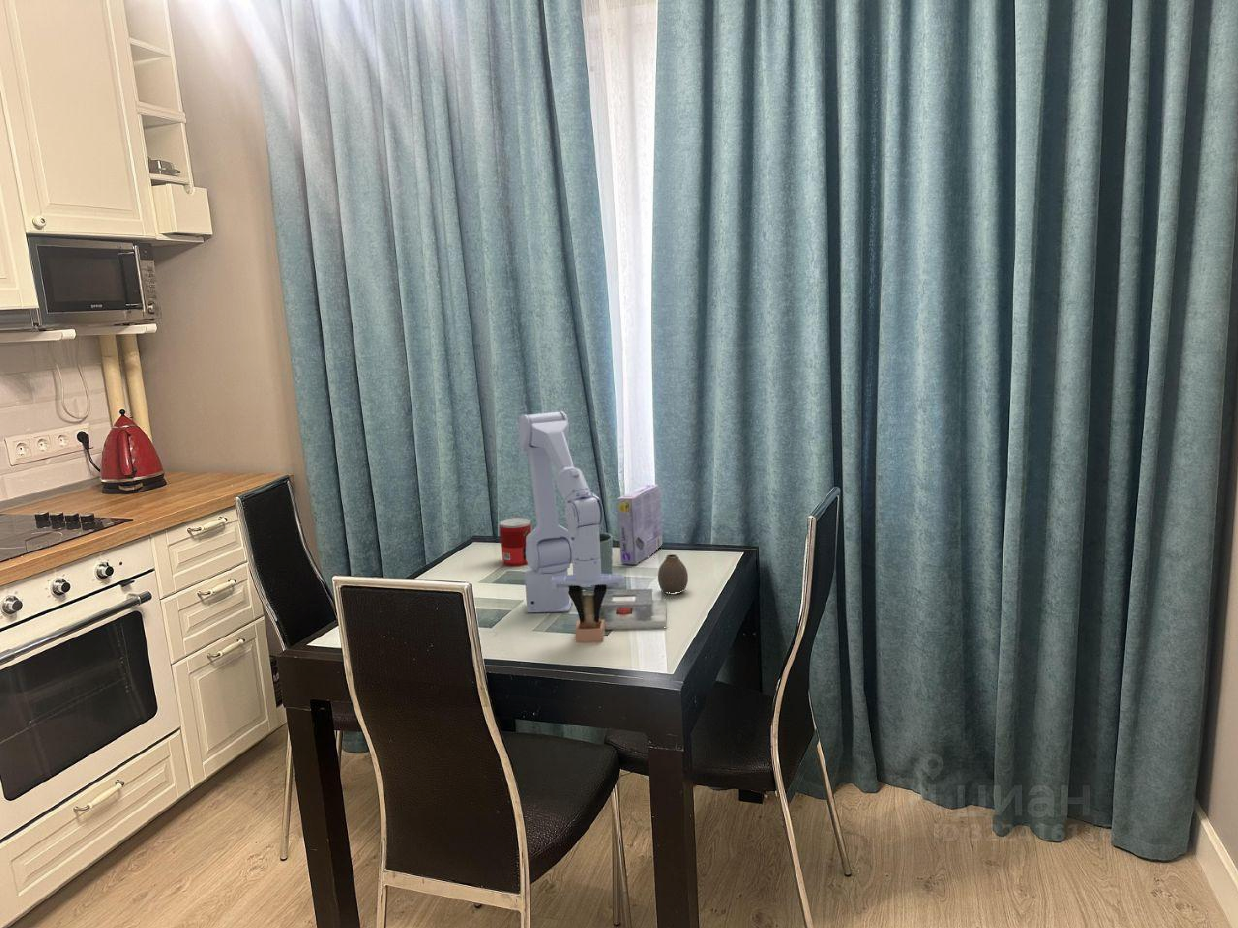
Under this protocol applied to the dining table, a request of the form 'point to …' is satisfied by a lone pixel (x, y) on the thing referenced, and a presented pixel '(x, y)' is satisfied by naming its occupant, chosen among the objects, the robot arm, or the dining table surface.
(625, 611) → the button
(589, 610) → the stylus
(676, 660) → the dining table surface
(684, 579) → the vase
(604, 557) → the green cylindrical pot
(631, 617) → the grey fixture board
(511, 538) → the canned food
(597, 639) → the holder
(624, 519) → the cake pan box
